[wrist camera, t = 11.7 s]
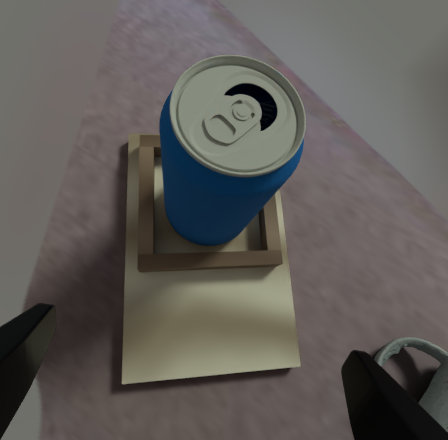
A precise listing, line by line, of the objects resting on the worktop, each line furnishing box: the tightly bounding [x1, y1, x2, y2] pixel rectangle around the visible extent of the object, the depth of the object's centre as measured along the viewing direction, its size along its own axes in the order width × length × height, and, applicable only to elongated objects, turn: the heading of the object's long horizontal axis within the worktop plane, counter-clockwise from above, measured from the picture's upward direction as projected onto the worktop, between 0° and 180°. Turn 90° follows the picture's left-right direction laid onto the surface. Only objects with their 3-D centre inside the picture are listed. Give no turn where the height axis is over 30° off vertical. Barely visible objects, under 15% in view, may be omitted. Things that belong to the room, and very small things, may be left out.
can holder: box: [122, 133, 300, 384], centre depth 23 cm, size 18×12×2 cm, turn 4°
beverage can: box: [160, 55, 306, 246], centre depth 18 cm, size 6×6×12 cm
